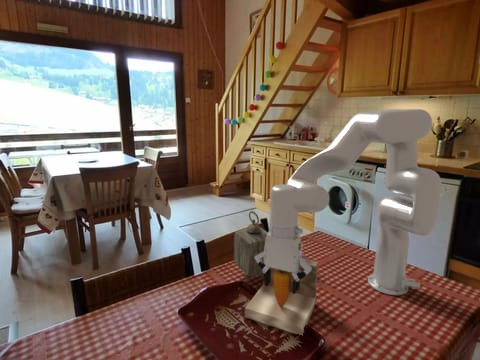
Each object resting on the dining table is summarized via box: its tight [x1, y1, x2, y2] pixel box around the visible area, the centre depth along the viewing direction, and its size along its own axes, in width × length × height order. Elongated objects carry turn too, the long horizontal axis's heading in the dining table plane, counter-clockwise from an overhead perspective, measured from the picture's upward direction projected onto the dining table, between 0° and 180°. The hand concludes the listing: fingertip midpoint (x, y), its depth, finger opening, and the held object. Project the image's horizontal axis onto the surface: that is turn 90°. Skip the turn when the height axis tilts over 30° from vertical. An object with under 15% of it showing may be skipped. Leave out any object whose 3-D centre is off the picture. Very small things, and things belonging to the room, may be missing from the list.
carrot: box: [274, 270, 291, 307], centre depth 85 cm, size 5×5×15 cm
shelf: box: [244, 257, 319, 337], centre depth 89 cm, size 17×16×15 cm
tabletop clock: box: [233, 210, 268, 281], centre depth 105 cm, size 14×9×25 cm, turn 25°
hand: (281, 287), depth 86 cm, fingers open, 7 cm apart
